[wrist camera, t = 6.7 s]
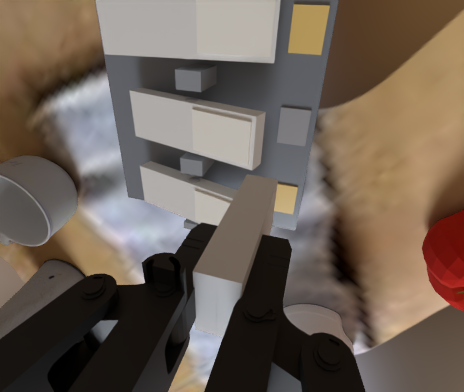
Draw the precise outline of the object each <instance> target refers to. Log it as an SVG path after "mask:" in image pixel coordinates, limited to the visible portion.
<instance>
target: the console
mask: <svg viewBox="0 0 464 392" xmlns="http://www.w3.org/2000/svg"><path fill="white" fill-rule="evenodd" d="M338 1H339V0H281V1H280V11H279V21H278V30H277V40H276V50H275V60H274V63H257V62H239V61H220V60H201V59H182V58H164V57H145V56H126V55H107V54H104V57H105V63H106V68H107V74H108V80H109V86H110V92H111V98H112V104H113V110H114V115H115V121H116V127H117V133H118V139H119V145H120V151H121V156H122V162H123V168H124V174H125V180H126V186H127V192H128V197H130V198H135V199H140V200H144V192H143V185H142V178H141V171H140V166H141V165H143V164H145V163H147V162H149V161H152V162H155V163H158V164H161V165H164V166H167V167H170V168H173V169H176V170H179V171H181V173H185V174H191V175H194V176H197V177H200V178H203V179H206V180H209V181H211V182H214V183H217V184H220V185H223V186H226V187H229V188H232V189H235V190H238V189H239V187H240V186H241V184H242V182H243V180H244V178H245V177H246V175H247V174H248V175H254V176H260V177H266V178H272V179H278V185H277V192H276V200H275V207H274V214H273V222H272V226H274V227H279V228H284V229H289V230H294V231H295V230H296V225H297V219H298V214H299V209H300V203H301V198H302V193H303V187H304V182H305V177H306V171H307V166H308V161H309V156H310V150H311V145H312V140H313V134H314V129H315V124H316V118H317V113H318V108H319V102H320V97H321V92H322V86H323V81H324V76H325V70H326V65H327V60H328V54H329V49H330V44H331V39H332V33H333V28H334V22H335V17H336V12H337V6H338ZM95 4H96V1H95ZM96 10H97V7H96ZM97 16H98V13H97ZM98 21H99V18H98ZM99 27H100V24H99ZM100 33H101V30H100ZM101 39H102V36H101ZM102 45H103V42H102ZM103 51H104V48H103ZM138 88H146V89H151V90H156V91H161V92H166V93H171V94H176V95H181V96H186V97H191V98H196V99H202V100H207V101H212V102H217V103H222V104H227V105H232V106H237V107H242V108H247V109H253V110H258V111H263V112H266V113H265V123H264V134H263V144H262V155H261V164H260V165H259V166H257V167H256V168H255V169H253V170H249V169H245V168H242V167H239V166H235V165H232V164H228V163H225V162H222V161H218V160H215V159H212V158H208V157H205V156H201V155H198V154H195V153H191V152H188V151H185V150H181V149H178V148H174V147H171V146H168V145H164V144H161V143H158V142H154V141H151V140H147V139H144V138H141V137H137V136H136V134H135V127H134V120H133V113H132V105H131V98H130V91H129V90H134V89H138ZM197 225H198V223H196V222H194V221H191V220H189V219H186V220H185V221H184V228H187V229H192V228H194V227H195V226H197Z"/></svg>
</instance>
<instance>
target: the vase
mask: <svg viewBox="0 0 464 392" xmlns="http://www.w3.org/2000/svg"><path fill="white" fill-rule="evenodd" d="M84 278H85V276H84V275H83V274H82V273H81V272H80V271H79V270H78V269H77V268H75V267H74V266H72V265H71V264H70V263H68V262H64V261H60V260H56V259H55V260H54V259H52V260H48V261H45V262H44V264H43V265H42V266H41V267H40V268H39V270H38V271H37V272H36V273H35V274H34V275H33V276H32V277H31V278H30V280H29V281H28V282H27V283H26V284H25V285H24V286H23V287H22V288H21V289H20V290H19V291H18V292H17V293H16V294H15V295H14V296H13V297H12V298H11V299H10V300H9V301H8V302H6V303H5V304H4V305H3V306H2V307H1V308H0V339H1V338H2V337H4V336H5V335H6V334H8V333H9V332H10V331H12V330H13V329H14V328H16V327H17V326H19V325H20V324H21V323H23V322H24V321H25V320H27V319H28V318H29V317H31V316H32V315H33V314H35V313H36V312H38V311H39V310H40V309H42V308H43V307H44V306H46V305H47V304H48V303H50V302H51V301H53V300H54V299H55V298H57V297H58V296H59V295H61V294H62V293H63V292H65V291H66V290H67V289H69V288H70V287H72V286H73V285H74V284H76V283H77V282H78V281H80V280H82V279H84Z"/></svg>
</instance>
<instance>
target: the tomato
mask: <svg viewBox="0 0 464 392" xmlns="http://www.w3.org/2000/svg"><path fill="white" fill-rule="evenodd" d="M422 250H423V255H424V259H425V261H426V264H427V272H428V276H429V281H430V283H431V284H432V286H433V288H434V290H435V291H436V292H437V293H438V294H439V295H440V296H441V297H442V298H444V299H445V300H446V301H447V302H448V303H449V304H451V305H452V306H453V307H455V308H458V309H460V310H463V311H464V210H462V211H460V212H458V213H456V214H454V215H451V216H449V217H446V218H444V219H441V220H439V221H437V222H436V223H435V224H434V225H433V226H432V228H431V229H430V230H429V231H428V233H427V235H426V237H425V239H424V242H423V246H422Z"/></svg>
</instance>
